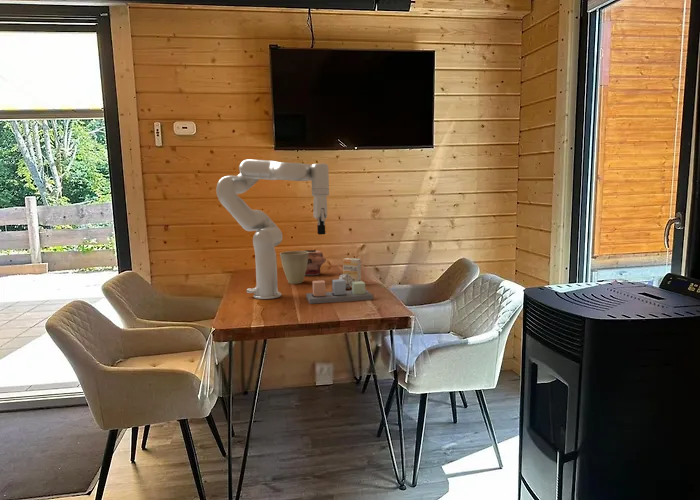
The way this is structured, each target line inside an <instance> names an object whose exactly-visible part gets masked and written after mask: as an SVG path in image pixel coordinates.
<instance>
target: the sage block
mask: <svg viewBox="0 0 700 500" xmlns="http://www.w3.org/2000/svg"><path fill="white" fill-rule="evenodd" d="M351 288H352V289H351V291H352V294H353V295H359V294H365V290H366V283H365V282H364V281H363V280H361V281H358V282H352V286H351Z"/></svg>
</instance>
